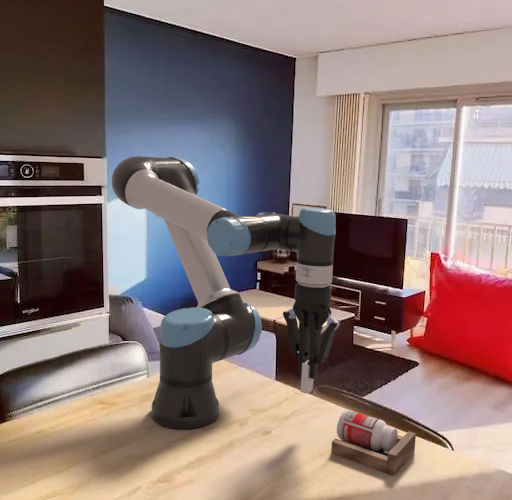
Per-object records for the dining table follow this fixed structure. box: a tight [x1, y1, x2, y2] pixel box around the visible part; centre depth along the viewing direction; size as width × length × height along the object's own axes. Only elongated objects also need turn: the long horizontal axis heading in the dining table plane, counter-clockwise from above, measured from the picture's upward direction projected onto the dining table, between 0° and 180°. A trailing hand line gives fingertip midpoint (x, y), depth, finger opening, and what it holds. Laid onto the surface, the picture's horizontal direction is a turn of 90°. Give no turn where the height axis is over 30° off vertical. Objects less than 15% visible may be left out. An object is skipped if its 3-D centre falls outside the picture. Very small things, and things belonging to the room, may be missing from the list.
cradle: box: [331, 430, 417, 477], centre depth 109 cm, size 13×11×4 cm
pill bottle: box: [336, 409, 398, 452], centre depth 110 cm, size 6×6×11 cm
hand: (306, 390), depth 117 cm, fingers closed
